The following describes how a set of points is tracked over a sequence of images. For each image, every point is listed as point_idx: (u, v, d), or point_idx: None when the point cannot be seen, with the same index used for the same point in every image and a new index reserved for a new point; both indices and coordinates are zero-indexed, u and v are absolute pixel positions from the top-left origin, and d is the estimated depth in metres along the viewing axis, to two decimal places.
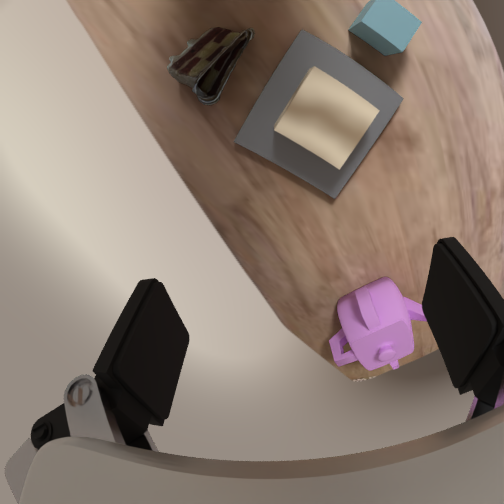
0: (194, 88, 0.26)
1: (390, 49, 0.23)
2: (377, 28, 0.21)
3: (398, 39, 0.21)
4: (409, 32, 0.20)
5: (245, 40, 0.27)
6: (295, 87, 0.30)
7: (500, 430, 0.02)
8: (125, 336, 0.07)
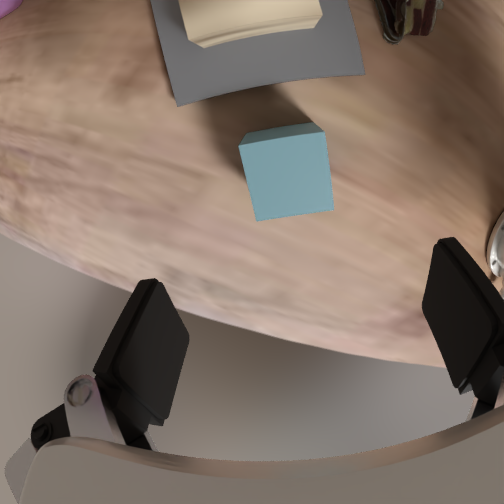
0: None
1: (252, 138, 0.20)
2: (297, 143, 0.18)
3: (259, 157, 0.19)
4: (255, 186, 0.20)
5: (390, 25, 0.15)
6: None
7: (500, 430, 0.02)
8: (125, 336, 0.07)
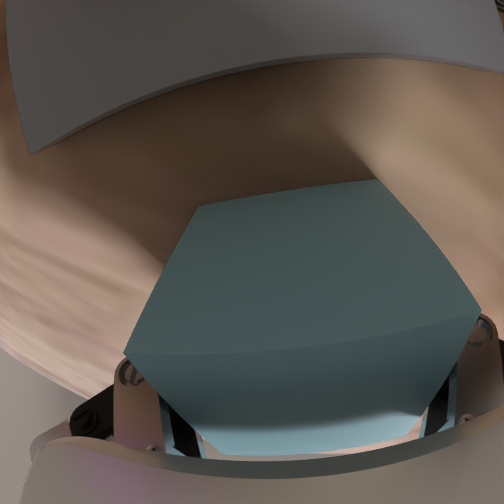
0: None
1: (192, 273, 0.06)
2: (371, 358, 0.04)
3: (209, 390, 0.05)
4: (210, 427, 0.06)
5: None
6: None
7: (500, 430, 0.02)
8: None
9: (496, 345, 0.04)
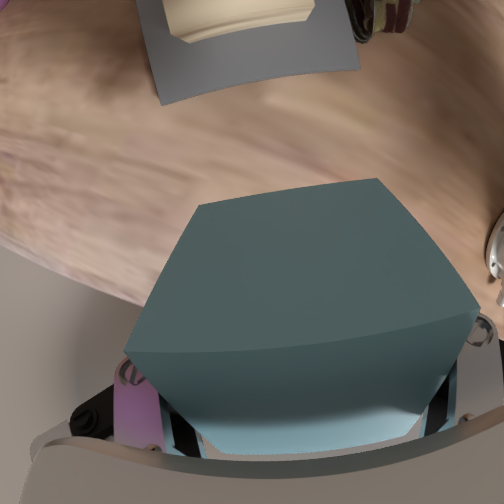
0: None
1: (192, 272, 0.06)
2: (371, 356, 0.04)
3: (209, 388, 0.05)
4: (210, 426, 0.06)
5: (359, 23, 0.15)
6: None
7: (500, 430, 0.02)
8: None
9: (496, 345, 0.04)
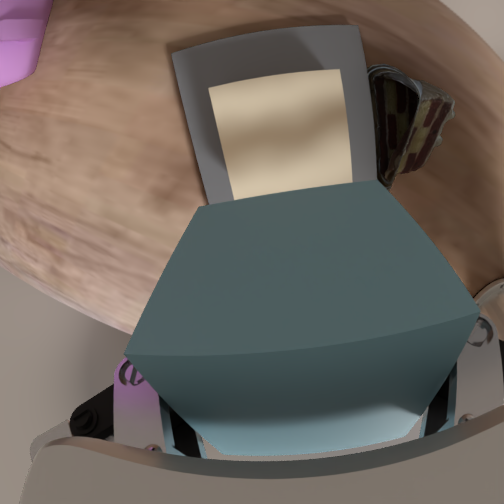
0: (418, 86, 0.14)
1: (192, 274, 0.06)
2: (370, 359, 0.04)
3: (209, 390, 0.05)
4: (211, 428, 0.06)
5: (381, 170, 0.23)
6: None
7: (500, 430, 0.02)
8: None
9: (496, 345, 0.04)
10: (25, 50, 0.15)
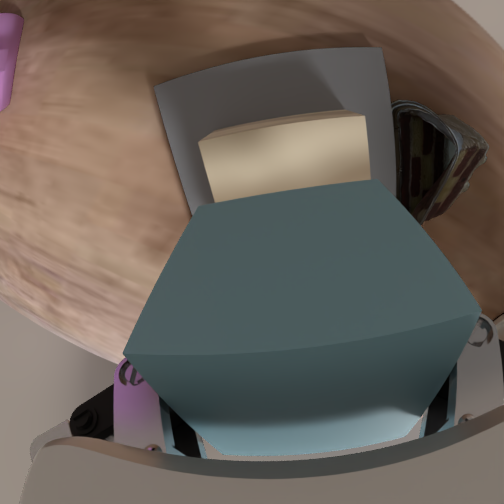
0: (457, 138, 0.11)
1: (191, 274, 0.06)
2: (371, 358, 0.04)
3: (209, 390, 0.05)
4: (210, 427, 0.06)
5: None
6: None
7: (500, 430, 0.02)
8: None
9: (495, 345, 0.04)
10: None
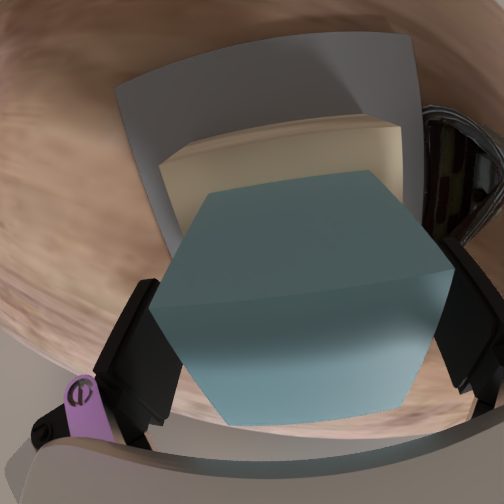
0: None
1: (207, 245, 0.07)
2: (360, 307, 0.05)
3: (222, 342, 0.06)
4: (219, 389, 0.07)
5: None
6: None
7: (500, 430, 0.02)
8: (125, 336, 0.07)
9: None
10: None
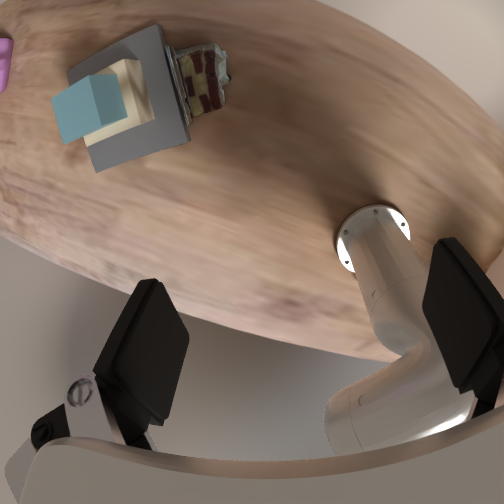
0: (167, 50, 0.23)
1: None
2: (76, 87, 0.20)
3: (60, 102, 0.21)
4: (60, 121, 0.22)
5: None
6: (150, 97, 0.31)
7: (500, 430, 0.02)
8: (125, 336, 0.07)
9: None
10: None
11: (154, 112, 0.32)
